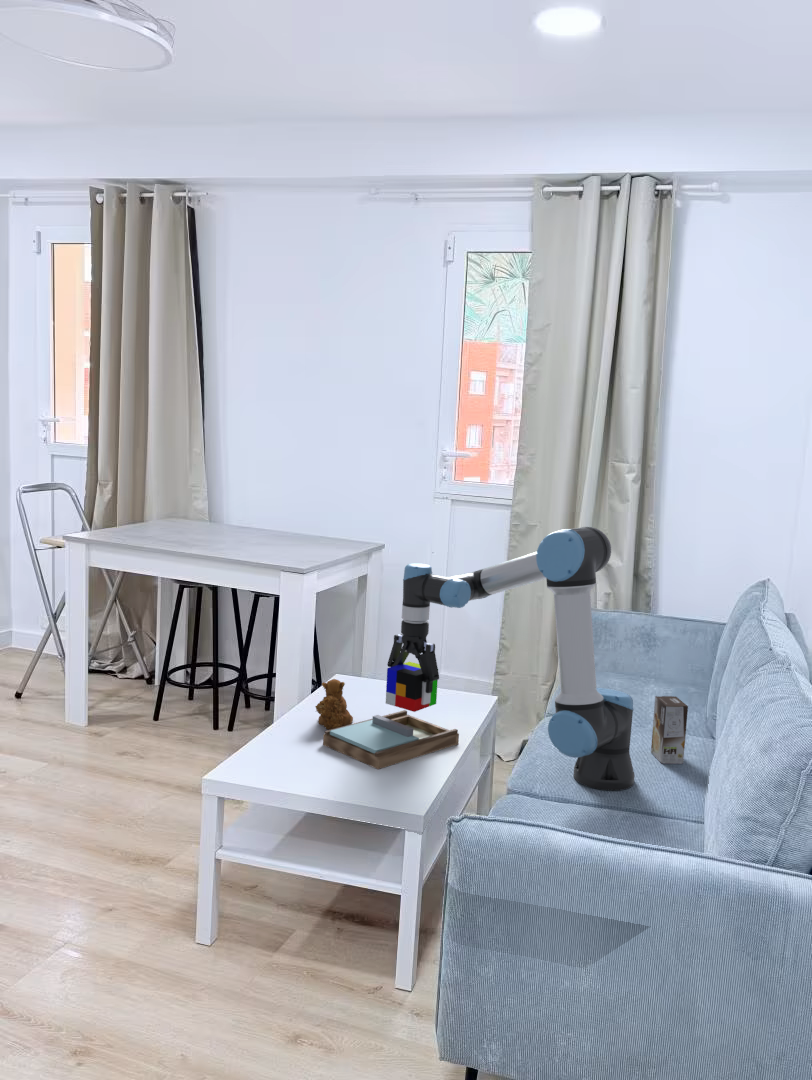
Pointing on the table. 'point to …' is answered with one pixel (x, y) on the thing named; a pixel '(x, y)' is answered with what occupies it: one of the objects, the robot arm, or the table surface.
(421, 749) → the wooden box
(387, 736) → the lid
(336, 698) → the brown furry figure
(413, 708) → the puzzle toy
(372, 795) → the table surface
